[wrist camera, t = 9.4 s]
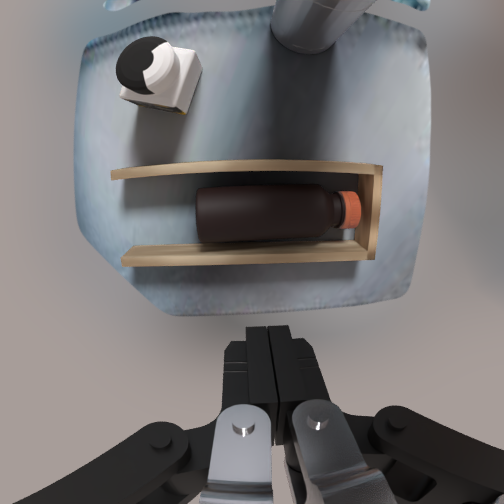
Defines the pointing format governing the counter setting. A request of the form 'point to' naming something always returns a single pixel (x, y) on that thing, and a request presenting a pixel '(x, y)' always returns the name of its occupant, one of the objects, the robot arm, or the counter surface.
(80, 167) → the counter surface
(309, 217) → the vinegar
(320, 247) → the u rest
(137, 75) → the medicine bottle
